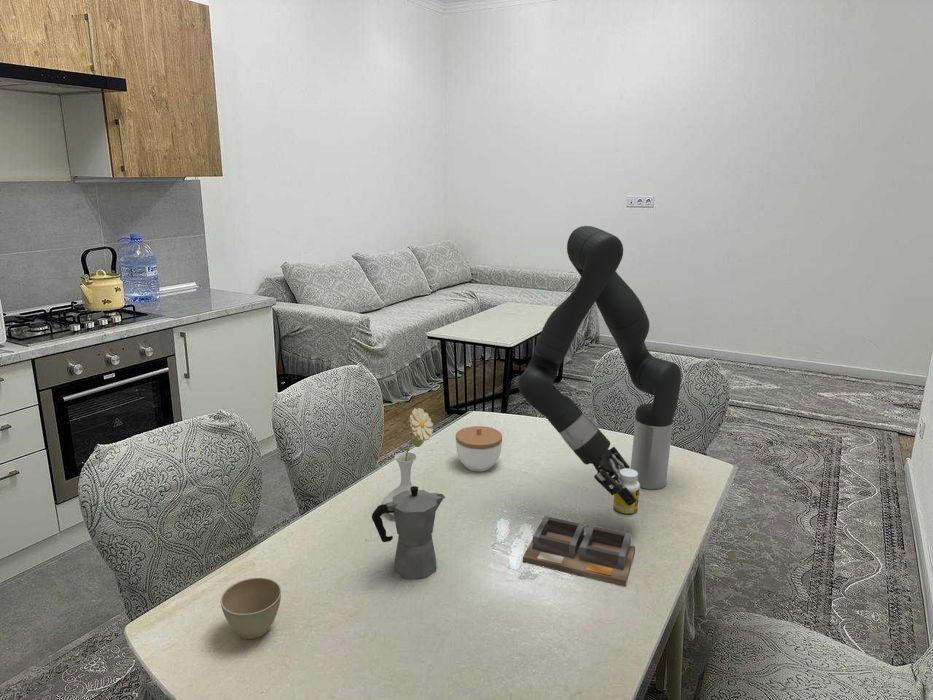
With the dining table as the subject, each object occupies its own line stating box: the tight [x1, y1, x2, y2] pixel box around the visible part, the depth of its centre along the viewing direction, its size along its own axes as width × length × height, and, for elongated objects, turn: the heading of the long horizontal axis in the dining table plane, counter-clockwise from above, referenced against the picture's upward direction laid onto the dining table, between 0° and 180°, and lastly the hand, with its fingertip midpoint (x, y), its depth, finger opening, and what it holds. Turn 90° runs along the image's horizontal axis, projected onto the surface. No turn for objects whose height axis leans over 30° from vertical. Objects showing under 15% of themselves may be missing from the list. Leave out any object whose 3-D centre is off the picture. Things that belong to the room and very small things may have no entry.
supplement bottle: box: [612, 468, 641, 518], centre depth 144 cm, size 5×5×10 cm
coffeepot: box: [371, 485, 446, 580], centre depth 130 cm, size 15×9×18 cm, turn 116°
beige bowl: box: [220, 577, 282, 640], centre depth 113 cm, size 10×10×7 cm
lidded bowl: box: [455, 425, 503, 472], centre depth 176 cm, size 13×13×11 cm
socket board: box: [522, 515, 636, 587], centre depth 136 cm, size 13×21×4 cm, turn 68°
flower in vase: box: [381, 407, 434, 517], centre depth 151 cm, size 13×11×25 cm
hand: (634, 496), depth 143 cm, fingers closed on supplement bottle, 5 cm apart
